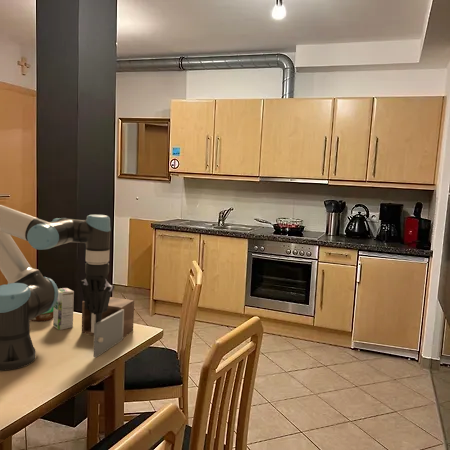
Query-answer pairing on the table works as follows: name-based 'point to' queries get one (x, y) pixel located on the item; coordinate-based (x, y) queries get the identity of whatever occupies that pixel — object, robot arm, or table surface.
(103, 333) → the door
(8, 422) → the table surface
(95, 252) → the robot arm
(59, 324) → the syrup box
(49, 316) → the food container
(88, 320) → the cabinet
